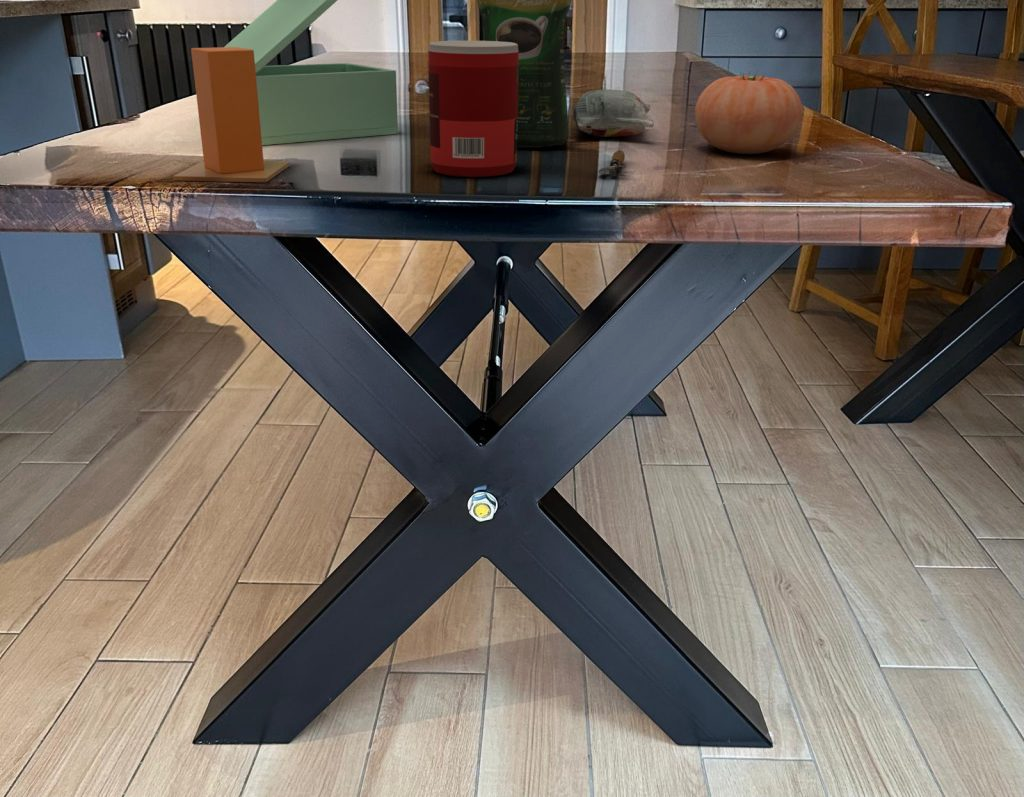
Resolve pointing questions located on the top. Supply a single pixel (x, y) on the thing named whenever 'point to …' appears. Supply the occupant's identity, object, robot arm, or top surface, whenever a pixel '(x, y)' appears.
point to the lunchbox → (325, 102)
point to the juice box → (228, 109)
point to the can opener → (614, 163)
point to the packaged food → (612, 113)
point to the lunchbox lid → (278, 27)
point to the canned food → (473, 107)
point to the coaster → (206, 174)
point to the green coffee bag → (534, 64)
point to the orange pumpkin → (748, 113)
